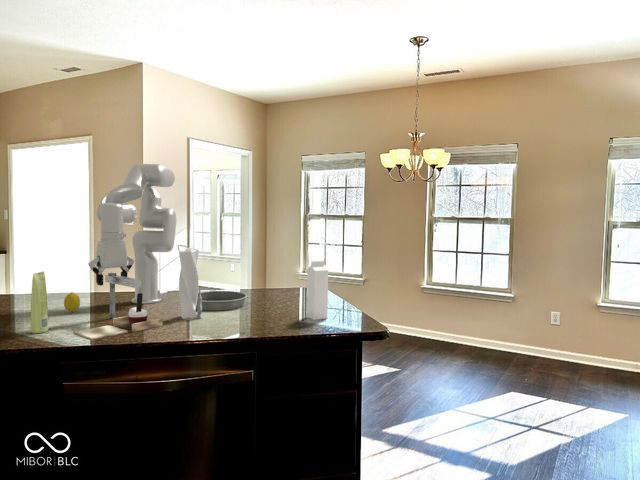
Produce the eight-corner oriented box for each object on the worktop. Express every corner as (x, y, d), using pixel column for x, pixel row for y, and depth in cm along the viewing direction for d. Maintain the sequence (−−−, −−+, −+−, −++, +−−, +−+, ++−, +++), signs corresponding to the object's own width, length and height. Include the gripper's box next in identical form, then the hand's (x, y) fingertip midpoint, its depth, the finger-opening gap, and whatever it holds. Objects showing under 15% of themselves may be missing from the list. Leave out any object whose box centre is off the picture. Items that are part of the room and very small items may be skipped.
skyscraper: (179, 321, 169) (179, 245, 168) (175, 316, 176) (175, 244, 175) (202, 319, 173) (202, 245, 171) (197, 314, 180) (198, 244, 179)
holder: (141, 320, 168) (141, 313, 168) (162, 325, 160) (162, 318, 160) (112, 325, 159) (112, 318, 159) (133, 331, 152) (133, 324, 151)
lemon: (73, 314, 176) (73, 293, 175) (60, 313, 177) (60, 293, 176) (83, 311, 181) (83, 291, 181) (71, 310, 182) (71, 290, 182)
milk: (327, 318, 176) (329, 261, 175) (313, 320, 173) (315, 262, 172) (319, 315, 182) (321, 260, 180) (306, 316, 179) (307, 260, 177)
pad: (109, 326, 158) (109, 325, 158) (128, 332, 151) (128, 330, 151) (73, 333, 148) (73, 331, 148) (91, 339, 141) (91, 338, 141)
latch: (105, 318, 170) (105, 272, 170) (112, 316, 173) (112, 272, 172) (134, 326, 159) (133, 277, 158) (141, 324, 161) (141, 277, 160)
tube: (27, 331, 150) (26, 272, 149) (44, 328, 153) (44, 270, 152) (34, 334, 146) (33, 273, 145) (51, 331, 150) (50, 272, 149)
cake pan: (177, 308, 192) (177, 297, 192) (211, 298, 215) (212, 289, 215) (226, 313, 183) (227, 302, 183) (257, 303, 206) (257, 293, 205)
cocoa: (132, 324, 164) (131, 290, 164) (150, 323, 165) (149, 289, 165) (124, 329, 154) (123, 294, 154) (144, 328, 155) (143, 293, 155)
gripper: (128, 236, 178) (128, 280, 179) (83, 237, 164) (83, 285, 165) (139, 236, 173) (139, 282, 174) (93, 238, 159) (93, 287, 160)
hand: (112, 283), depth 169 cm, fingers open, 8 cm apart
